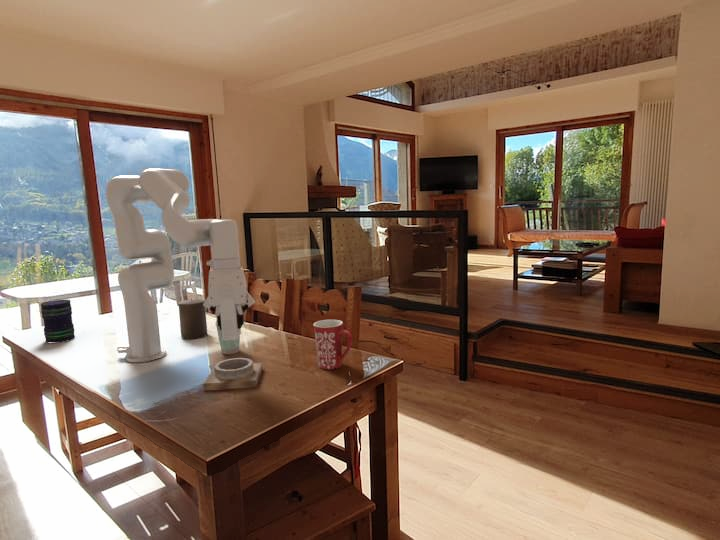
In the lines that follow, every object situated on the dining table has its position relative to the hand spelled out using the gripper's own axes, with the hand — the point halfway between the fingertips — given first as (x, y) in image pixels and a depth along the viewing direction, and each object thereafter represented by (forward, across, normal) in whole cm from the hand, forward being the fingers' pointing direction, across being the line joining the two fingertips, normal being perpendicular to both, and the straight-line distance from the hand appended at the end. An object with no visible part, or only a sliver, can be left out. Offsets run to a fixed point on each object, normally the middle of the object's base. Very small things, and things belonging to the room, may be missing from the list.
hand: (231, 327), depth 128 cm
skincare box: (+3, 0, 0) cm, 3 cm away
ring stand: (+15, 0, 0) cm, 15 cm away
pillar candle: (+16, -24, +49) cm, 57 cm away
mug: (+16, +29, +5) cm, 33 cm away
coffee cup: (+16, -6, +26) cm, 31 cm away
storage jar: (+15, -77, +54) cm, 95 cm away
